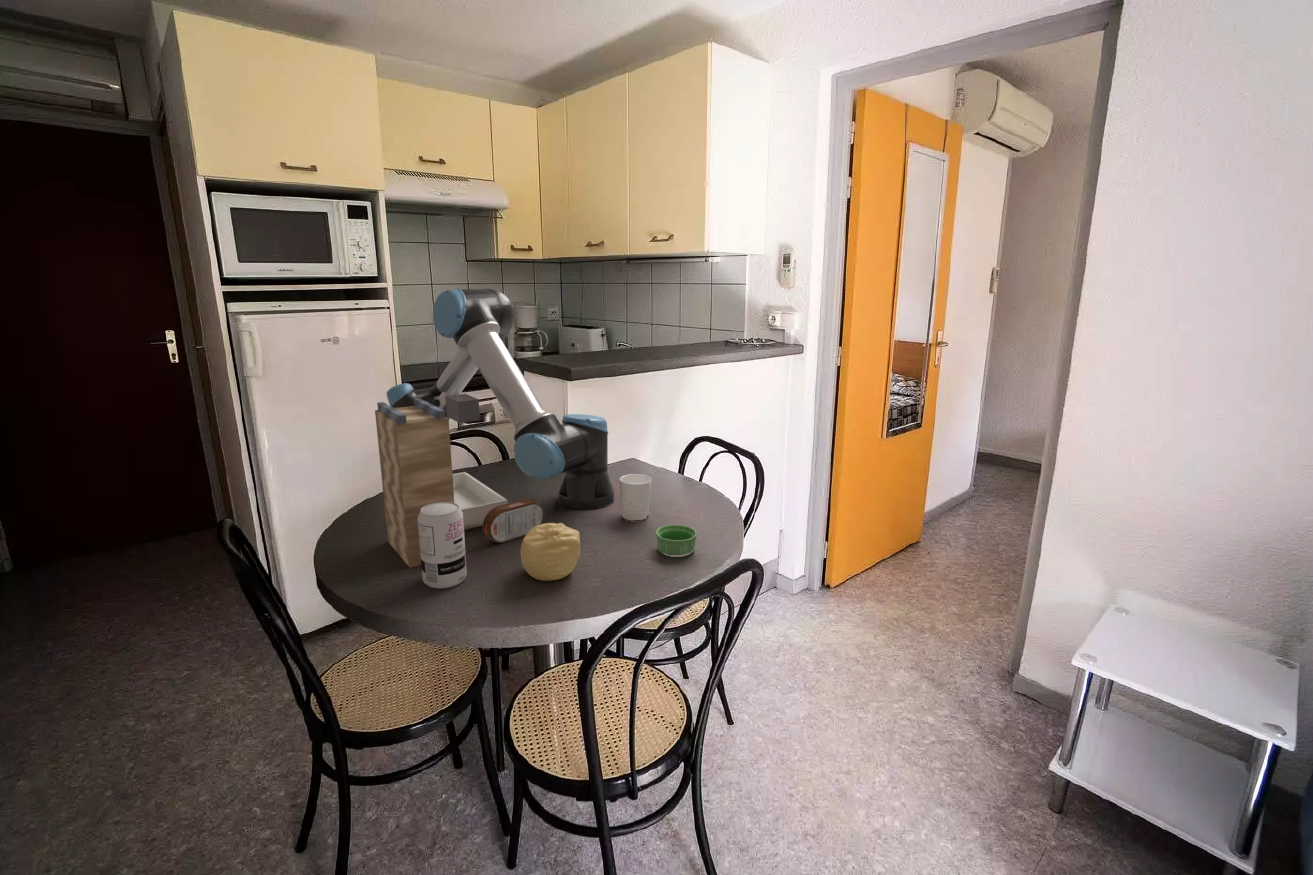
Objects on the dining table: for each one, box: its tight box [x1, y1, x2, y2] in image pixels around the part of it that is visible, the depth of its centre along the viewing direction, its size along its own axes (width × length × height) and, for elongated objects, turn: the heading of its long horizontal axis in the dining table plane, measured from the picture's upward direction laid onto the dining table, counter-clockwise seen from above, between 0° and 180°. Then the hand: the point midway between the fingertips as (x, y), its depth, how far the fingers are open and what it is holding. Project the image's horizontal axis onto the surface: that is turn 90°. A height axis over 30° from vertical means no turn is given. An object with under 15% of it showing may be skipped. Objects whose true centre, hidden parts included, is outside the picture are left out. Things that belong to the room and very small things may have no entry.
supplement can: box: [417, 502, 468, 589], centre depth 119 cm, size 8×8×15 cm
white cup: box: [619, 473, 652, 521], centre depth 153 cm, size 8×8×10 cm
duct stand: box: [374, 398, 454, 569], centre depth 131 cm, size 16×10×32 cm, turn 38°
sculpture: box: [520, 522, 581, 582], centre depth 123 cm, size 11×12×11 cm
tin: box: [482, 497, 545, 544], centre depth 140 cm, size 15×3×8 cm, turn 135°
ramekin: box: [655, 524, 698, 555], centre depth 135 cm, size 9×9×4 cm
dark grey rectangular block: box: [434, 393, 481, 424], centre depth 151 cm, size 20×5×5 cm, turn 38°
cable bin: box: [452, 471, 509, 531], centre depth 157 cm, size 28×14×5 cm, turn 38°
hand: (451, 396), depth 151 cm, fingers closed on dark grey rectangular block, 2 cm apart
